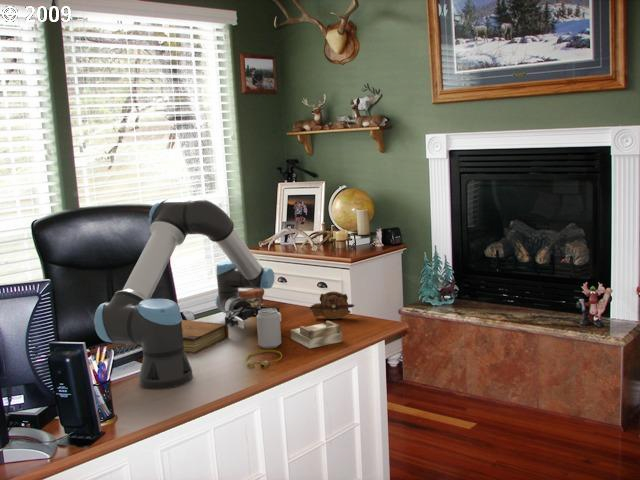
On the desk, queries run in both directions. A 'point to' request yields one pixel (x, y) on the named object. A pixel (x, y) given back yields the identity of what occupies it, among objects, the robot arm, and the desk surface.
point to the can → (268, 328)
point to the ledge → (317, 334)
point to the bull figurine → (252, 295)
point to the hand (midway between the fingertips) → (261, 320)
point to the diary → (202, 335)
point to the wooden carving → (332, 305)
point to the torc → (263, 364)
